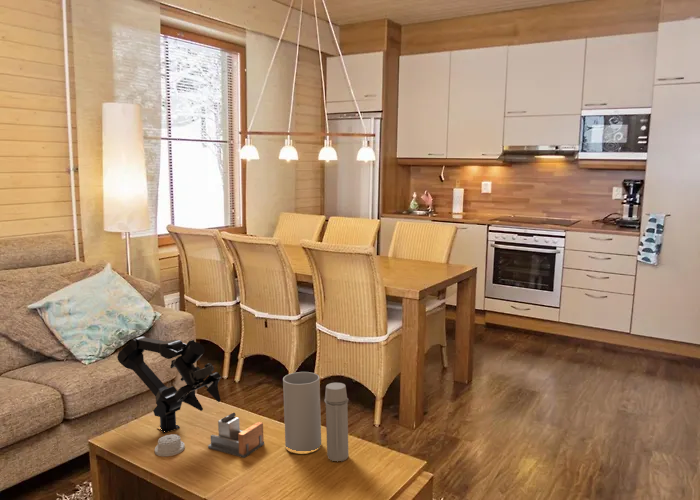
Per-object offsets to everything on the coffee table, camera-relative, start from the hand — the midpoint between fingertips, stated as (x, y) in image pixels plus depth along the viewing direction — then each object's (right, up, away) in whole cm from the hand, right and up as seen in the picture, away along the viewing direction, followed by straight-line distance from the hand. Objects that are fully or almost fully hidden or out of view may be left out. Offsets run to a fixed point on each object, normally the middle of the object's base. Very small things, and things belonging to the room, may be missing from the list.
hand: (211, 405), depth 201 cm
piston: (+7, -12, -2) cm, 14 cm away
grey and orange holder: (+10, -13, -3) cm, 17 cm away
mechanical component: (-13, -14, -5) cm, 20 cm away
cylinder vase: (+33, -13, -5) cm, 36 cm away
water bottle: (+46, -14, -14) cm, 50 cm away
